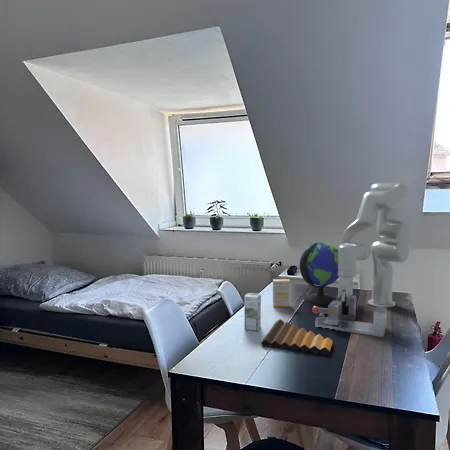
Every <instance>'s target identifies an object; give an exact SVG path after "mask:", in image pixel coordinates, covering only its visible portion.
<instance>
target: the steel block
mask: <svg viewBox="0 0 450 450" xmlns="http://www.w3.org/2000/svg"><path fill="white" fill-rule="evenodd" d="M335 297H336V301H341V298H340V299H338V293H337V294H336V295H335ZM345 299H347V298H345ZM345 301H346V300H345ZM356 314H357V295H354V294H352V296H351V297H350V299H349V300H348V315H343V314H342V320H349V321H355V320H356V318H357V317H356Z"/></svg>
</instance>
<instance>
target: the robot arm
mask: <svg viewBox="0 0 450 450" xmlns="http://www.w3.org/2000/svg"><path fill="white" fill-rule="evenodd" d="M408 190H409V189H408V187H407V185H406V184H405V183H403V182H375V183H373V184H372V185H371V187H370V190H369V191H367V192H365V193H364V194H363V197H362V200H361V203H360V206H359V209H358V214H357V216H356V218H355V220H354V221H353V222H352V223H351V224H349V225H348V226H347V227H346V229H345V230H344V231H343V233H341V234H342V235H341V237H340V239H339V243H338V246H337V247H338V248H337V249H338V276H339V278H338V287H337V290H338V291H337V294H338V299H340V298H341V301H342V314H343V315H348V300H349V299H350V297H351V296H352V295H353V290H354V278H356V270H357V269H356V263H357V261H366V260H367V259H369V257H370V256H371V262H372V264H371V265H372V267H371V268H372V270H371V271H372V273H371V274H372V275H371V276H372V277H371V299H368V300H367V303H368V304H369V305H370V306H373V307H376V306H379V307H387V308H393V307H395V306H396V302H395V301H394V300H393V282H394V281H393V279H394V277H393V275H394V270H393V266H392V264H391V262H392V263H397V264H398V263H400V264H401V263H403V264H404V263H405V262H407V260H408V258H409V254H410V247H411V237H412V227H411V224H410V222H409V221H407V220H404V219H397V214H398V213H397V212H398V208H397V206H398V205H400V204H401V203H402V202H403V201H405V199H406V198H407V196H408V193H409V191H408ZM375 225H376V236H378V237H380V238H381V239H389V240H396V241H389V240H377V241H374V242H373V243H372V244H371V246H370V247H369V245H367V244H365V243H361V242H360V243H359V242H351V241H352V240H353V238H354V237H355V236H356V235H358V234H359V233H362V232H363V231H366V230H369V229H371V228H374V226H375ZM345 298H347V299H345ZM345 300H346V301H345Z"/></svg>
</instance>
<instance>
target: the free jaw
mask: <svg viewBox="0 0 450 450" xmlns="http://www.w3.org/2000/svg"><path fill="white" fill-rule="evenodd" d="M311 311H312V313H313V314H320V313H324V315H326V314H327V318H328V324H334V325H338V324H339V322H340V321H341V319H342V301H334V300H333V301H332V302H331V303H330V304H328V305H327V307H319V306H318V305H313V306H312V308H311ZM342 320H343V319H342Z"/></svg>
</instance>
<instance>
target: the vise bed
mask: <svg viewBox="0 0 450 450" xmlns="http://www.w3.org/2000/svg"><path fill="white" fill-rule="evenodd" d="M387 309H388V307H379V306H375V309H374V311H373V317H372V318H373V323H370V322H363V321H355V320H354V321H353V320H346V319H341V321H340V322H339V324H338V325H334V324H328V316H327V317H325V313H318V315H317V316H316V317H315V321H314V324H315V328H318V327H322V328H321V329H325V328H329V329H328V330H332V329H335V330H334V331H339V330H340V332H345V331H346V333H353V334H361V335H365V336H366V335H367V336H373V337H380V338H384V336H385V333H386V330H387V320H388V319H387V315H388V311H387Z"/></svg>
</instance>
